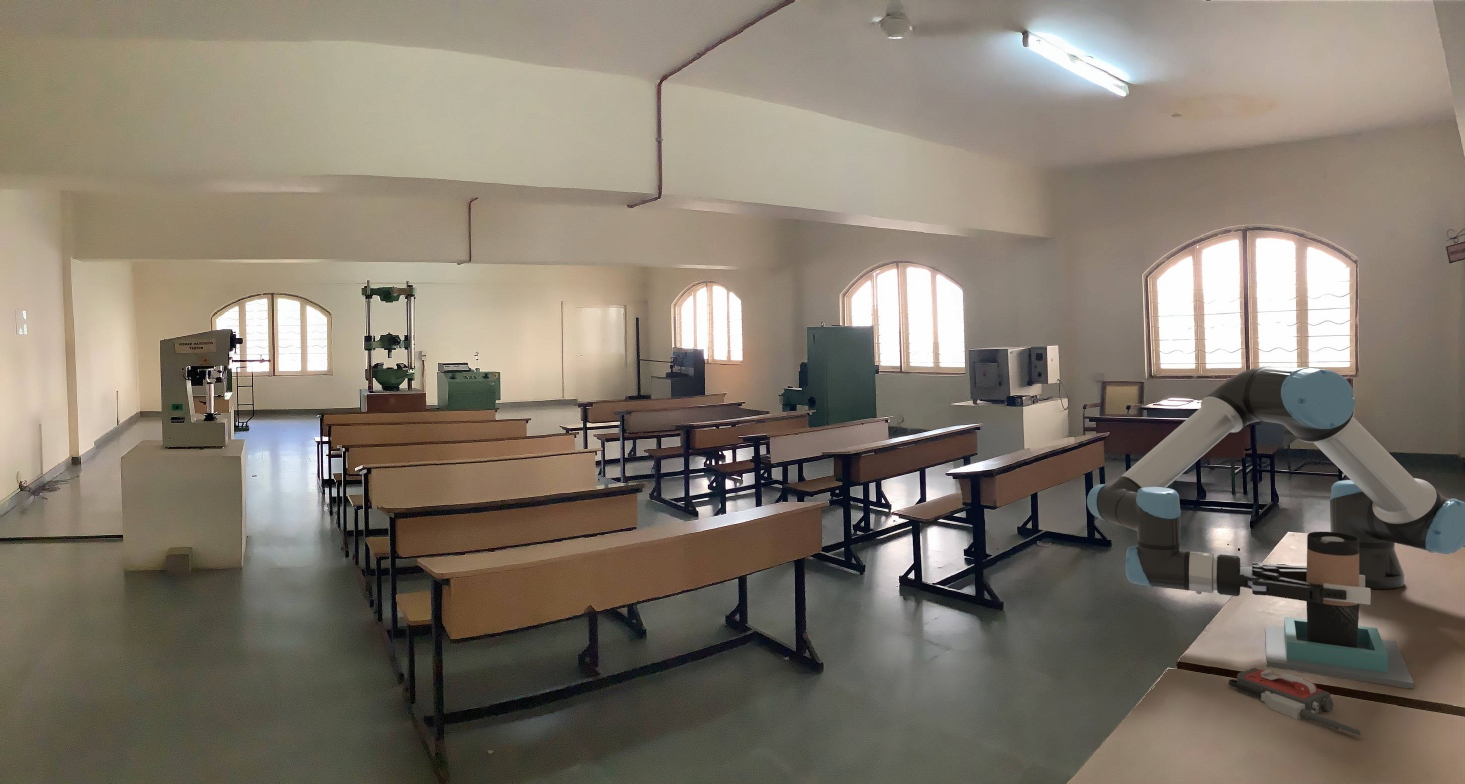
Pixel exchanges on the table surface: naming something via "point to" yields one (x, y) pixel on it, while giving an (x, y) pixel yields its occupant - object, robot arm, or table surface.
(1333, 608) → the travel mug
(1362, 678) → the mug dock
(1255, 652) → the table surface
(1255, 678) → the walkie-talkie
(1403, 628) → the table surface
